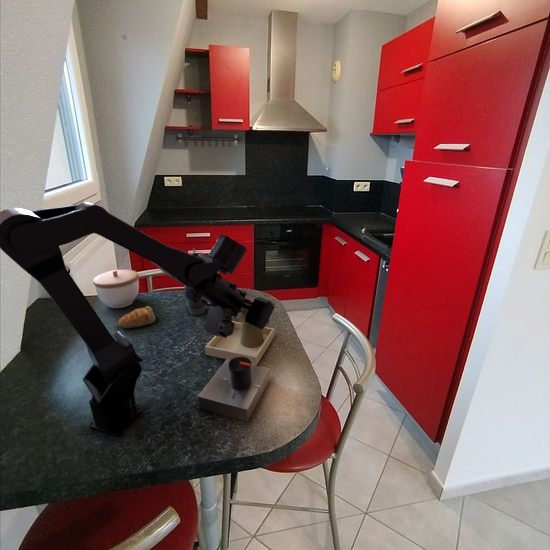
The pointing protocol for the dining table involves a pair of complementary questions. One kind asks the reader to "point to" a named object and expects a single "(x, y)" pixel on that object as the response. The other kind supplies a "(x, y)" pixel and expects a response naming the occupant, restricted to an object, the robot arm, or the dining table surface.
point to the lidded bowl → (117, 287)
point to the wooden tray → (238, 345)
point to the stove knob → (240, 373)
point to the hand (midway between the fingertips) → (254, 316)
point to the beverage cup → (195, 304)
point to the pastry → (137, 318)
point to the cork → (250, 333)
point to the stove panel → (233, 393)
